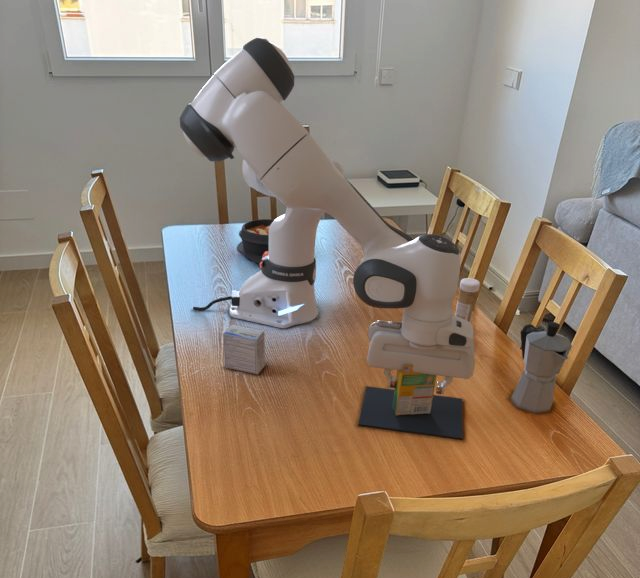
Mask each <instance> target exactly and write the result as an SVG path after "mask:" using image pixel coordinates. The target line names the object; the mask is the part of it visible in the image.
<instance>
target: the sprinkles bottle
mask: <svg viewBox="0 0 640 578" xmlns="http://www.w3.org/2000/svg"><path fill="white" fill-rule="evenodd" d="M459 282H460V283H459V291H458V297H457V302H456V306H455V307H456V308H455V312H454V315H455V316H457V317H459V318H462V319H464V320H466V321H469V322H470V323H471V324H473V318H474V314H475V308H476V302H477V297H478V293H479V291H480V287H481V282H480V281H479V280H478V279H475V278H472V277H464V278H462V279H461V280H460V281H459Z"/></svg>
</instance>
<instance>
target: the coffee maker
mask: <svg viewBox="0 0 640 578" xmlns="http://www.w3.org/2000/svg"><path fill="white" fill-rule="evenodd" d="M560 327H561V325H560V323H559V322H556V321H549V322H547V327H546V330H545V328H544V327H543V326H542V325H539V326H537V327H536V326H535V325H534V324H533V323H531V324H530V323H529V324H525V325H524V326H523V327H522V329H521V331H520V333H519V334H520V343H521V344H520V345H521V357H522V360H523V366H524V369H523V371H522V373H521V376H520V378H519V380H518V382H517V384H516V386H515V388H514V390H513V392H512V395H511V397H510V399H509V400H510V401H511V402H512V403H513V404H514V405H515V406H516V407H517V408H518V409H520V410H523V411H526V412H529V413H533V414H540V413H546V412H547V413H548V412H550V411H551V409H552V406H553V405H554V404H553V403H554V397H555V387H556V379H557V375H558V374H560V372H561V370H562V368H563V367H564V364H565V362H566V360H568V359H569V358H568V356H569V354H570V352H571V350H572V348H573V345H572V342H571V341H570V339H569V338H568V337H567V336H565V335H562V334H560V333H558V331H559V329H560Z"/></svg>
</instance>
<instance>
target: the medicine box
mask: <svg viewBox="0 0 640 578" xmlns="http://www.w3.org/2000/svg"><path fill="white" fill-rule="evenodd" d="M265 339H266V337H265V331H264V330H261V329H260V330H259V329H256V328H250V327H246V326H240V325H235V324H231V325H230V326H229V327H227V329H225V331H224V332H223V333H222V343H223V358H224V359H223V360H224V368H225V369H231V370H235V371H240V372H243V373H249V374H254V375H259V374H260V372H261V371H262V370H263V369H264V368H265V366H266V347H265V346H266V345H265V342H266V341H265Z"/></svg>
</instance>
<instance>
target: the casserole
mask: <svg viewBox="0 0 640 578" xmlns="http://www.w3.org/2000/svg"><path fill="white" fill-rule="evenodd" d="M274 220H275V219H269V218H260V219H254V220H250V221H246V222H245V223H244V224H243V225H242V226H241V229H240V230H239V232H238V236H239V237H240V239H241V241H240V242H239V243H238V244H237V246H236V251H237V252H238V253H239V254H240V255H242V256H243V257H246V258H248V259H250V260H251V261H252V262H254V263H256V264H260V263H261V259H262V256H263V254H264V253H265V252H266V251H269V227H270V225H271V224H272V222H273V221H274Z"/></svg>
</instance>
